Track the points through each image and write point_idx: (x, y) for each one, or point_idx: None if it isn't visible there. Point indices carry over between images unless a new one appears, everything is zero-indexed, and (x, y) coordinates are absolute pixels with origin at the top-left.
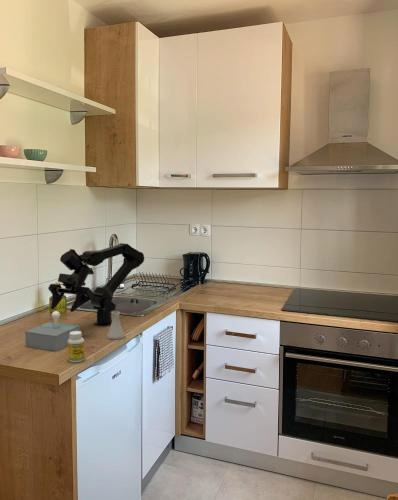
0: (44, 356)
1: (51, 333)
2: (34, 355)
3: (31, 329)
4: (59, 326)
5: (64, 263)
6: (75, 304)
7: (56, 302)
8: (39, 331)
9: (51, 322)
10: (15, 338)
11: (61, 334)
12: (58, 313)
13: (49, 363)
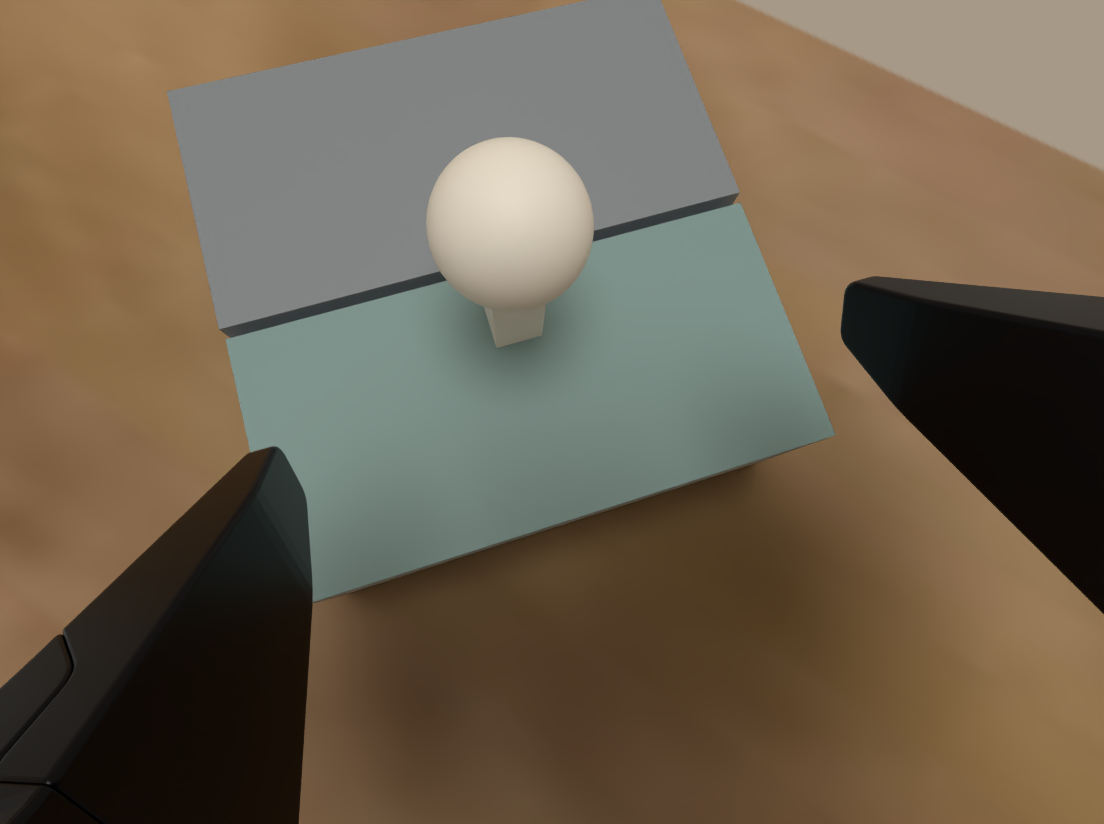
0: (233, 73)
1: (308, 120)
2: (332, 38)
3: (670, 66)
4: (501, 364)
5: None
6: (112, 606)
7: (1028, 451)
8: (512, 78)
9: (782, 407)
10: (917, 176)
11: (197, 201)
12: (438, 222)
13: (48, 9)
